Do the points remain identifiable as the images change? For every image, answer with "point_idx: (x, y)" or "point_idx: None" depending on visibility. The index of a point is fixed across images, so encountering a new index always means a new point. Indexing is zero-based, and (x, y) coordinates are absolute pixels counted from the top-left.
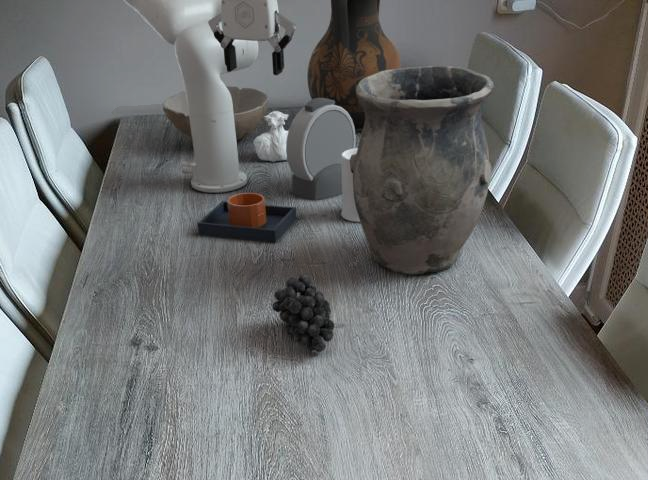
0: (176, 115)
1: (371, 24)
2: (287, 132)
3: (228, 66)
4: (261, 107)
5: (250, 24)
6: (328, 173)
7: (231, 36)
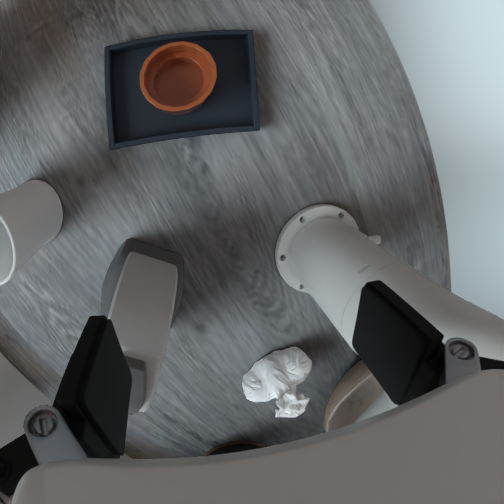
0: None
1: None
2: (269, 395)
3: (381, 289)
4: (327, 419)
5: None
6: (108, 282)
7: (466, 388)
